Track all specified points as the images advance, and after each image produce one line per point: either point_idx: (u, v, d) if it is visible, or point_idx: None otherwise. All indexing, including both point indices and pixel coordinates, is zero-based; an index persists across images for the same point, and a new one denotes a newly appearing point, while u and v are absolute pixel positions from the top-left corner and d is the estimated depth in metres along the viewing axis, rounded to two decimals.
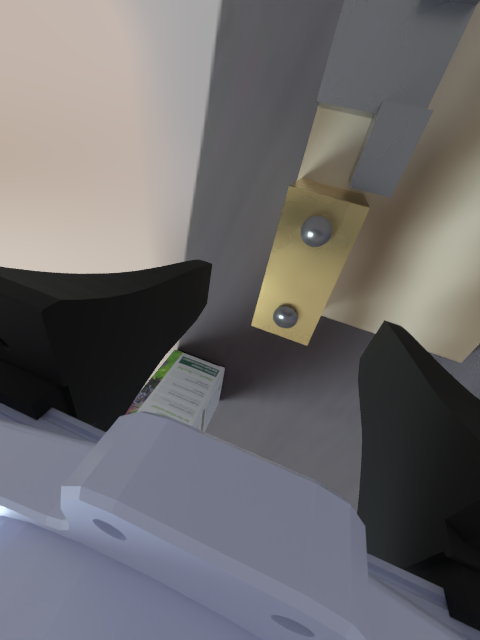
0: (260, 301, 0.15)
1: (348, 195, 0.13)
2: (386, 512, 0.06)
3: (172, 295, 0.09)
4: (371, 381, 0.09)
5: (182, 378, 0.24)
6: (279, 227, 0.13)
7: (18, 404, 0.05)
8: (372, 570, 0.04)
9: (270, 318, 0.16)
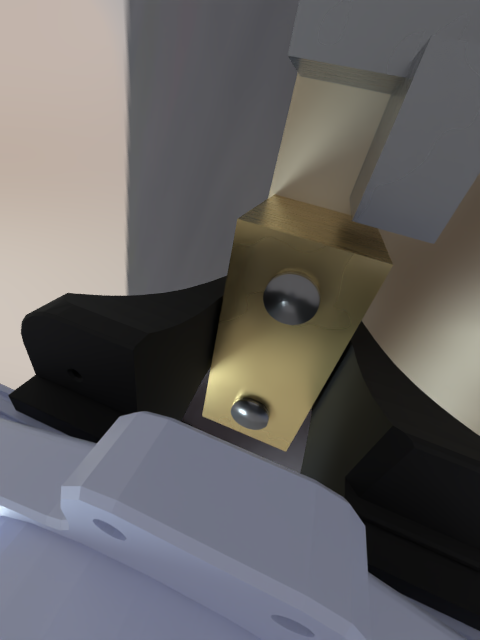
0: (211, 388, 0.10)
1: (349, 229, 0.07)
2: None
3: (220, 312, 0.08)
4: None
5: None
6: (228, 287, 0.07)
7: (93, 439, 0.05)
8: None
9: (229, 411, 0.10)
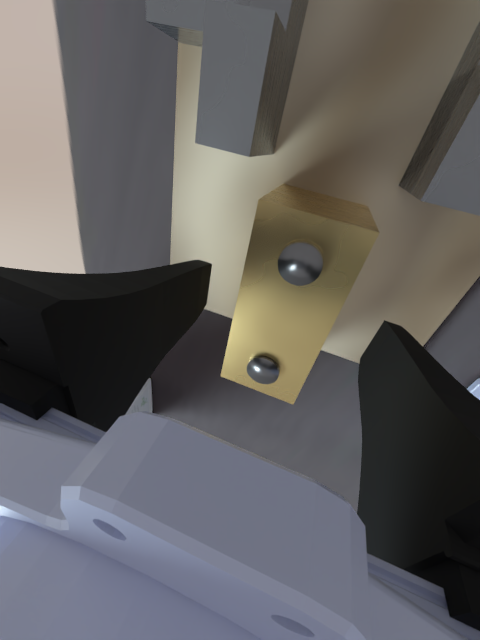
0: (229, 349, 0.12)
1: (346, 210, 0.09)
2: (386, 512, 0.06)
3: (172, 295, 0.09)
4: (371, 381, 0.09)
5: None
6: (248, 256, 0.09)
7: (18, 404, 0.05)
8: (372, 570, 0.04)
9: (244, 369, 0.12)
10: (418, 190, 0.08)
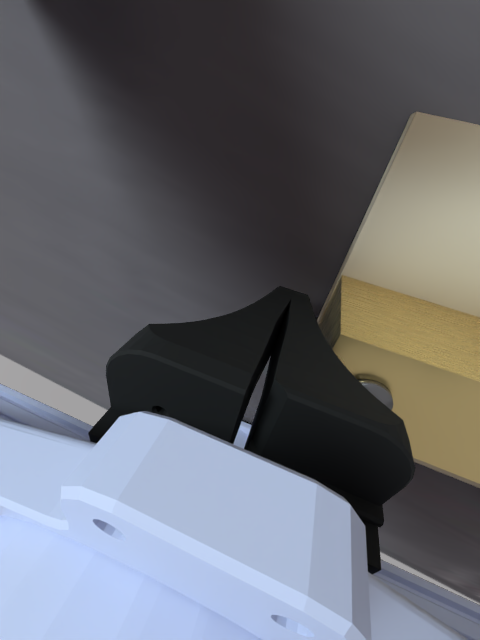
0: (408, 362, 0.07)
1: None
2: None
3: (274, 331, 0.08)
4: (275, 346, 0.10)
5: None
6: None
7: None
8: None
9: (360, 372, 0.08)
10: None
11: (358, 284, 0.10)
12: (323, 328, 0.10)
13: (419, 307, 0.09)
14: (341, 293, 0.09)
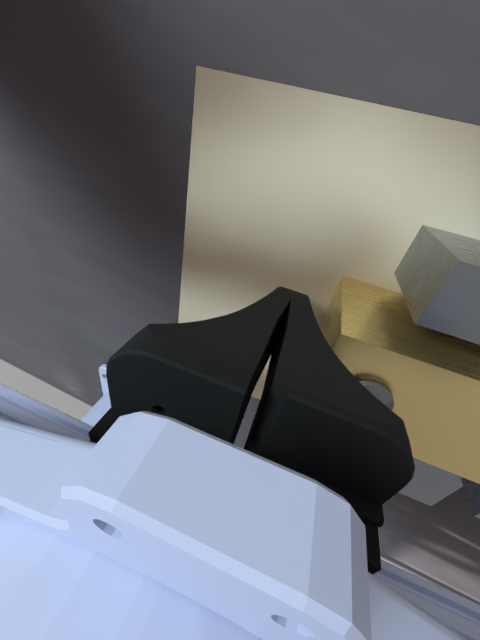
0: (408, 362, 0.07)
1: None
2: None
3: (274, 331, 0.08)
4: (275, 346, 0.10)
5: None
6: None
7: None
8: None
9: (360, 372, 0.08)
10: None
11: (358, 284, 0.10)
12: (324, 328, 0.10)
13: None
14: (342, 293, 0.09)
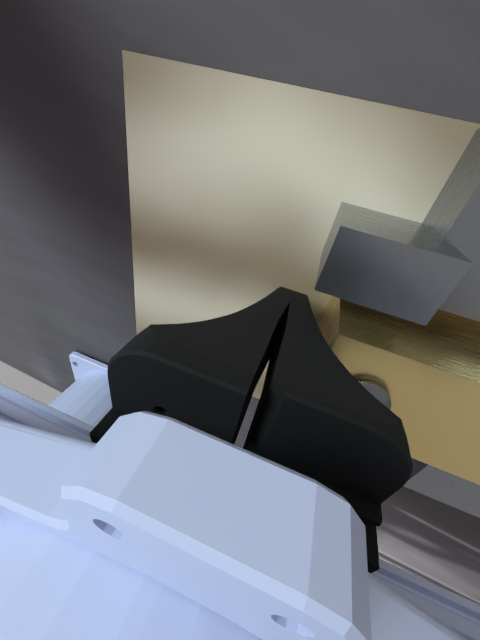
0: (406, 363, 0.07)
1: None
2: None
3: (275, 332, 0.08)
4: (274, 346, 0.10)
5: None
6: None
7: None
8: None
9: (358, 373, 0.08)
10: None
11: None
12: (322, 329, 0.10)
13: None
14: None
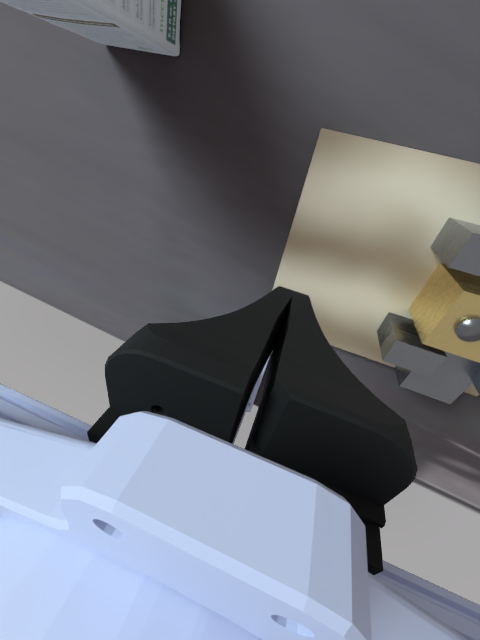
0: None
1: None
2: None
3: (273, 331, 0.08)
4: (275, 346, 0.10)
5: None
6: None
7: None
8: None
9: (470, 313, 0.14)
10: (397, 335, 0.17)
11: None
12: (430, 295, 0.17)
13: None
14: (447, 272, 0.15)
